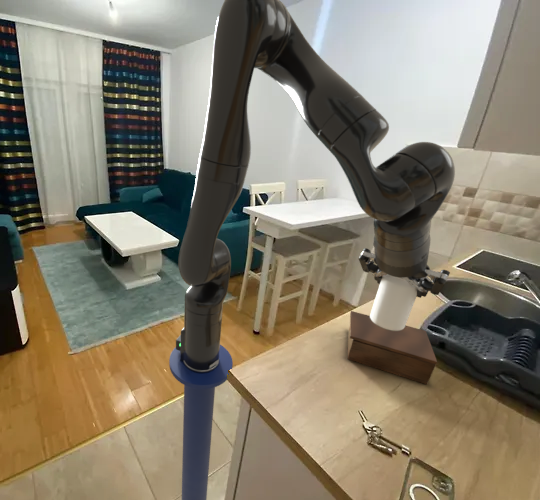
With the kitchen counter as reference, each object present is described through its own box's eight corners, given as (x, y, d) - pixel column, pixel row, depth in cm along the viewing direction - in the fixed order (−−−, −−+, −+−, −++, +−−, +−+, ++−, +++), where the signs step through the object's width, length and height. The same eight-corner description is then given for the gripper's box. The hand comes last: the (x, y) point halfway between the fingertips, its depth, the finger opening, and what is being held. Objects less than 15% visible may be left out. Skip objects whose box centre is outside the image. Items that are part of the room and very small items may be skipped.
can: (363, 318, 64) (378, 269, 59) (379, 311, 67) (394, 264, 62) (394, 335, 58) (413, 283, 54) (410, 326, 61) (429, 276, 57)
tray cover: (349, 338, 72) (350, 335, 72) (350, 313, 82) (351, 310, 82) (436, 364, 65) (437, 361, 64) (424, 333, 75) (425, 330, 75)
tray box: (347, 359, 74) (352, 340, 72) (348, 331, 84) (353, 314, 82) (427, 384, 67) (435, 364, 65) (417, 351, 77) (424, 333, 75)
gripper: (465, 240, 44) (451, 284, 56) (364, 219, 54) (370, 260, 66) (446, 281, 43) (435, 317, 55) (346, 251, 53) (355, 288, 65)
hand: (400, 286), depth 60 cm, fingers closed on can, 6 cm apart
